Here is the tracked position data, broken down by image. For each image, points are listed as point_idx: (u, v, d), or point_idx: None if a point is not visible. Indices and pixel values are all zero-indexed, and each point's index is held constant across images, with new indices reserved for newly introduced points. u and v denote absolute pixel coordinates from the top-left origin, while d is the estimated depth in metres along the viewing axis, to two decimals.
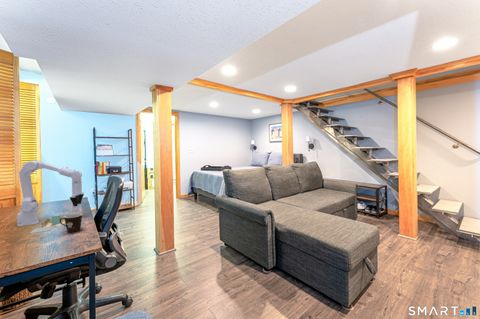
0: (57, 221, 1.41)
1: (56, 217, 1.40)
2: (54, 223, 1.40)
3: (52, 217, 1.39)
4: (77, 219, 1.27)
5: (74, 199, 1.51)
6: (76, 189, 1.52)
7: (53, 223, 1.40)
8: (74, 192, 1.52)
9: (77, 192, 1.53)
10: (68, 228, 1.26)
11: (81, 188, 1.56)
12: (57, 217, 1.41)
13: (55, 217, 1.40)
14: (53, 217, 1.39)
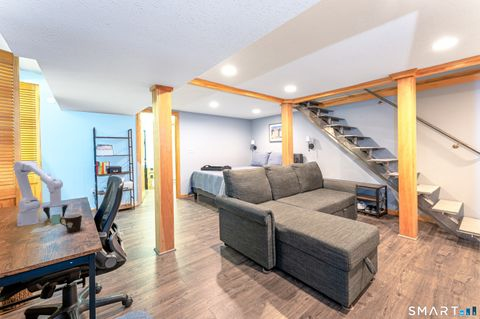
0: (57, 221, 1.41)
1: (56, 217, 1.40)
2: (54, 223, 1.40)
3: (52, 217, 1.39)
4: (77, 219, 1.27)
5: None
6: (50, 200, 1.39)
7: (53, 223, 1.40)
8: None
9: (50, 203, 1.39)
10: (68, 228, 1.26)
11: (54, 200, 1.39)
12: (57, 217, 1.41)
13: (55, 217, 1.40)
14: (53, 217, 1.39)
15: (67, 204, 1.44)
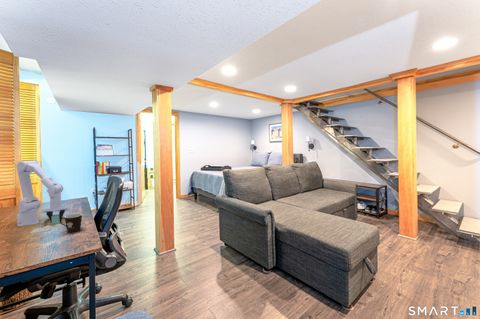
0: (57, 221, 1.41)
1: (56, 217, 1.40)
2: (54, 223, 1.40)
3: (52, 217, 1.39)
4: (77, 219, 1.27)
5: None
6: (50, 204, 1.39)
7: (53, 223, 1.40)
8: None
9: (50, 208, 1.39)
10: (68, 228, 1.26)
11: (54, 204, 1.39)
12: (57, 217, 1.41)
13: (55, 217, 1.40)
14: (53, 217, 1.39)
15: (67, 208, 1.44)
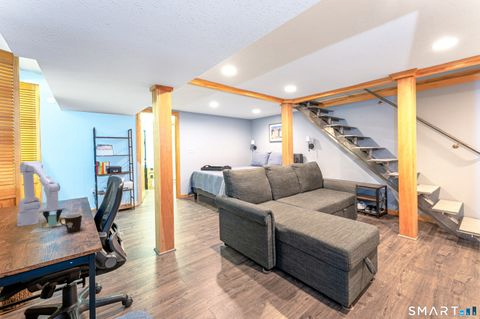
0: (54, 221, 1.34)
1: (53, 218, 1.34)
2: (51, 223, 1.33)
3: (49, 217, 1.33)
4: (77, 219, 1.27)
5: None
6: None
7: (50, 223, 1.33)
8: None
9: (46, 208, 1.33)
10: (68, 228, 1.26)
11: (51, 204, 1.32)
12: (54, 217, 1.34)
13: (52, 217, 1.33)
14: (50, 217, 1.33)
15: (65, 208, 1.37)
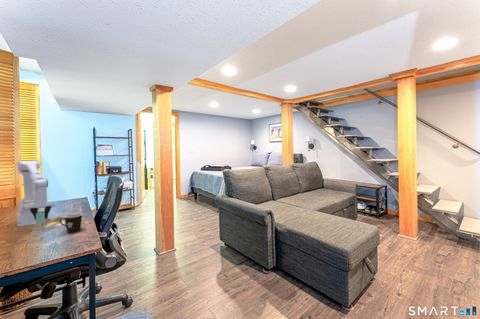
0: (42, 219, 1.29)
1: (42, 215, 1.29)
2: (39, 221, 1.28)
3: (37, 214, 1.28)
4: (77, 219, 1.27)
5: None
6: None
7: (38, 221, 1.28)
8: None
9: (34, 204, 1.28)
10: (68, 228, 1.26)
11: (39, 200, 1.27)
12: (42, 214, 1.29)
13: (40, 214, 1.29)
14: (38, 214, 1.28)
15: (54, 205, 1.33)
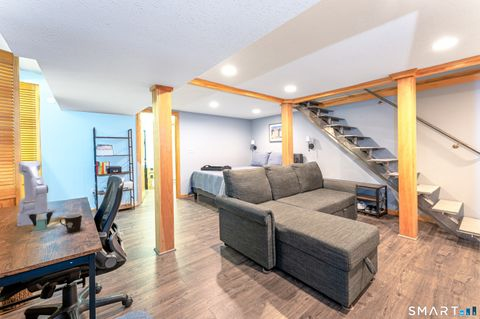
0: (43, 227, 1.29)
1: (42, 223, 1.29)
2: (39, 229, 1.29)
3: (37, 222, 1.28)
4: (77, 219, 1.27)
5: None
6: (34, 206, 1.28)
7: (38, 229, 1.28)
8: None
9: (35, 210, 1.28)
10: (68, 228, 1.26)
11: (39, 206, 1.28)
12: (43, 222, 1.29)
13: (40, 222, 1.29)
14: (38, 222, 1.28)
15: (54, 211, 1.33)
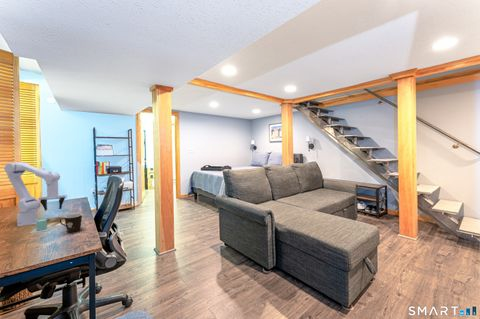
0: (43, 227, 1.29)
1: (42, 223, 1.29)
2: (39, 229, 1.29)
3: (37, 222, 1.28)
4: (77, 219, 1.27)
5: None
6: (47, 192, 1.41)
7: (38, 229, 1.28)
8: None
9: (47, 196, 1.40)
10: (68, 228, 1.26)
11: (51, 192, 1.40)
12: (43, 222, 1.29)
13: (40, 222, 1.29)
14: (38, 222, 1.28)
15: (64, 196, 1.45)
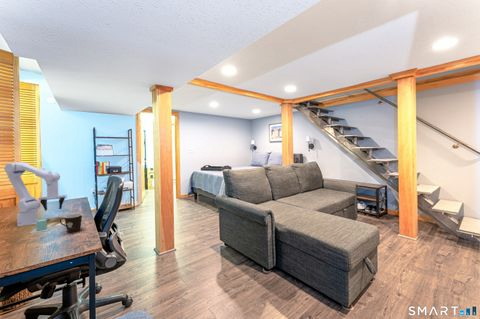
0: (43, 227, 1.29)
1: (42, 223, 1.29)
2: (39, 229, 1.29)
3: (37, 222, 1.28)
4: (77, 219, 1.27)
5: None
6: (47, 192, 1.41)
7: (38, 229, 1.28)
8: None
9: (47, 196, 1.40)
10: (68, 228, 1.26)
11: (51, 192, 1.40)
12: (43, 222, 1.29)
13: (40, 222, 1.29)
14: (38, 222, 1.28)
15: (64, 196, 1.45)
